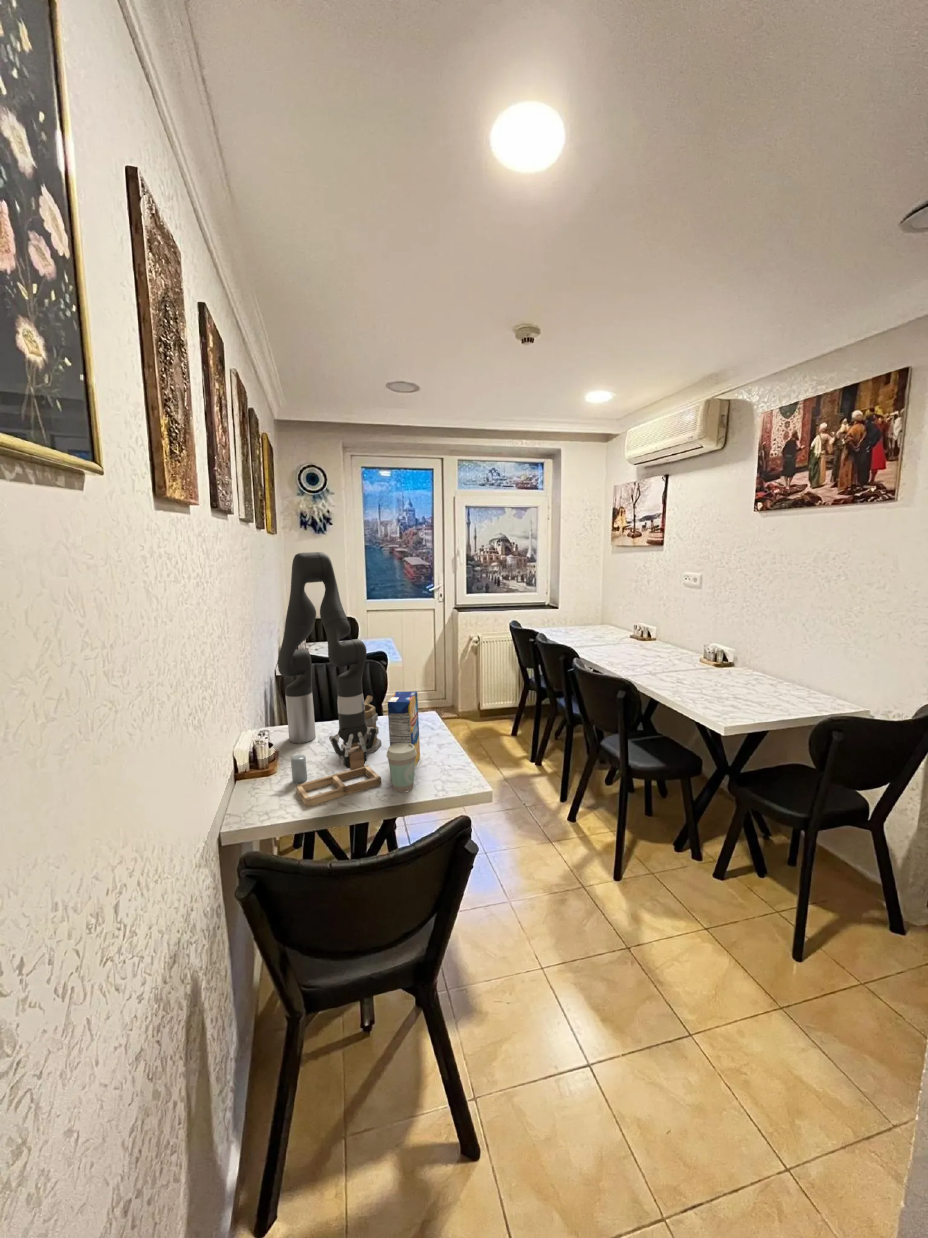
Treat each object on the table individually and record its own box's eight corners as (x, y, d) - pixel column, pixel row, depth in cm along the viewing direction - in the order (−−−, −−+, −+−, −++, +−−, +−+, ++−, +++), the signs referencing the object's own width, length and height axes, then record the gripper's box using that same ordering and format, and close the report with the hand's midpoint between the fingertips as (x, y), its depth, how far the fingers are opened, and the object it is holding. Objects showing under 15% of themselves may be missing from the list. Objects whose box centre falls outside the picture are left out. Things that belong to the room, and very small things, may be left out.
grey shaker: (290, 779, 148) (289, 757, 147) (304, 775, 150) (303, 754, 149) (294, 785, 145) (293, 762, 144) (309, 781, 147) (307, 758, 146)
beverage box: (391, 770, 152) (387, 702, 149) (399, 755, 163) (396, 691, 160) (413, 771, 151) (409, 702, 148) (420, 756, 162) (417, 691, 159)
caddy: (296, 792, 140) (295, 785, 140) (367, 771, 152) (367, 765, 152) (307, 807, 132) (306, 800, 132) (381, 784, 144) (381, 777, 143)
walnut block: (346, 765, 144) (345, 749, 144) (359, 762, 147) (358, 746, 146) (351, 770, 141) (350, 754, 140) (364, 766, 143) (363, 750, 143)
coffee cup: (405, 797, 135) (403, 756, 134) (382, 790, 140) (379, 750, 138) (424, 784, 142) (422, 745, 141) (401, 778, 147) (399, 739, 145)
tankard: (372, 755, 164) (370, 712, 162) (336, 754, 166) (333, 711, 164) (391, 733, 183) (388, 694, 181) (358, 732, 185) (356, 693, 183)
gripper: (369, 701, 148) (372, 755, 151) (322, 710, 141) (327, 767, 143) (379, 707, 142) (383, 763, 145) (331, 717, 135) (335, 777, 137)
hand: (355, 765), depth 144 cm, fingers closed on walnut block, 4 cm apart
